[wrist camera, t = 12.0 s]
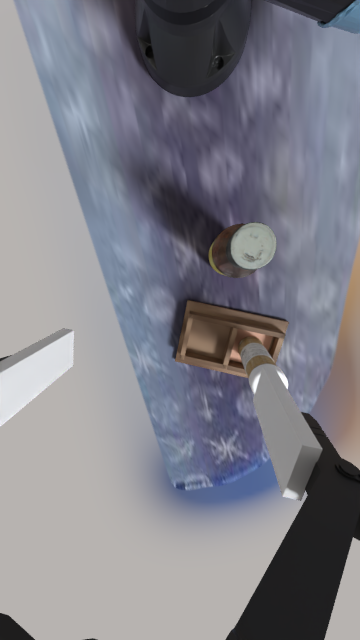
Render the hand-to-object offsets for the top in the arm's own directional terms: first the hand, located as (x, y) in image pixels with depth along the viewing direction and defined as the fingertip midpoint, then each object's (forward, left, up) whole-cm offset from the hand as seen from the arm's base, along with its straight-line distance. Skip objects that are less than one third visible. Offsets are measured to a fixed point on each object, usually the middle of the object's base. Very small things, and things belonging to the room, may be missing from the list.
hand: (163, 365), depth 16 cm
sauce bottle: (-9, +5, -27) cm, 29 cm away
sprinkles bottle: (+6, +13, -26) cm, 30 cm away
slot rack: (+6, +9, -27) cm, 29 cm away
